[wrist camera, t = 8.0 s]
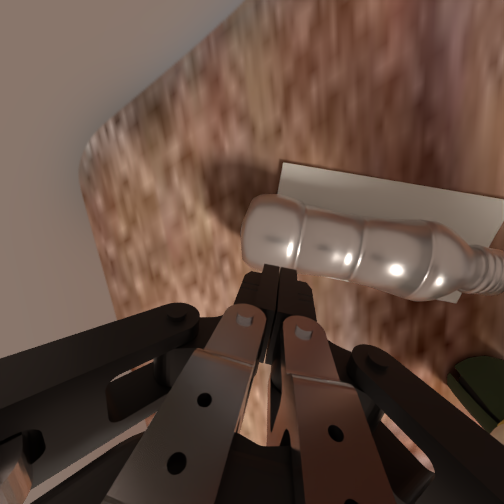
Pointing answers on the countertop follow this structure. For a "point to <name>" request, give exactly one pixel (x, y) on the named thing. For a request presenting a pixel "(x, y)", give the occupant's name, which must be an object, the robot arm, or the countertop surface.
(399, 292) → the plastic bottle
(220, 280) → the countertop surface
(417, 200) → the mat
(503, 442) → the character mug
